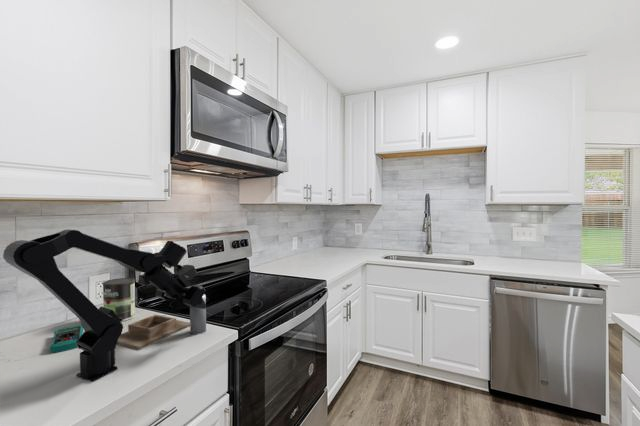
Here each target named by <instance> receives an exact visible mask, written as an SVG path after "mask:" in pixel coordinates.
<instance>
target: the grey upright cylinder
mask: <svg viewBox="0 0 640 426" xmlns="http://www.w3.org/2000/svg"><path fill="white" fill-rule="evenodd" d="M202 298H203V300H204V302H205V304H206V303H207V300H206V299H207V296H206V293H204V295H203V296H202ZM206 305H207V304H206ZM189 322H190V326H189V332H190V334H192V335H200V334H203V333H205V332H206V331H207V307H206V308H205V309H201V308H195V307H190V306H189Z"/></svg>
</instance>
